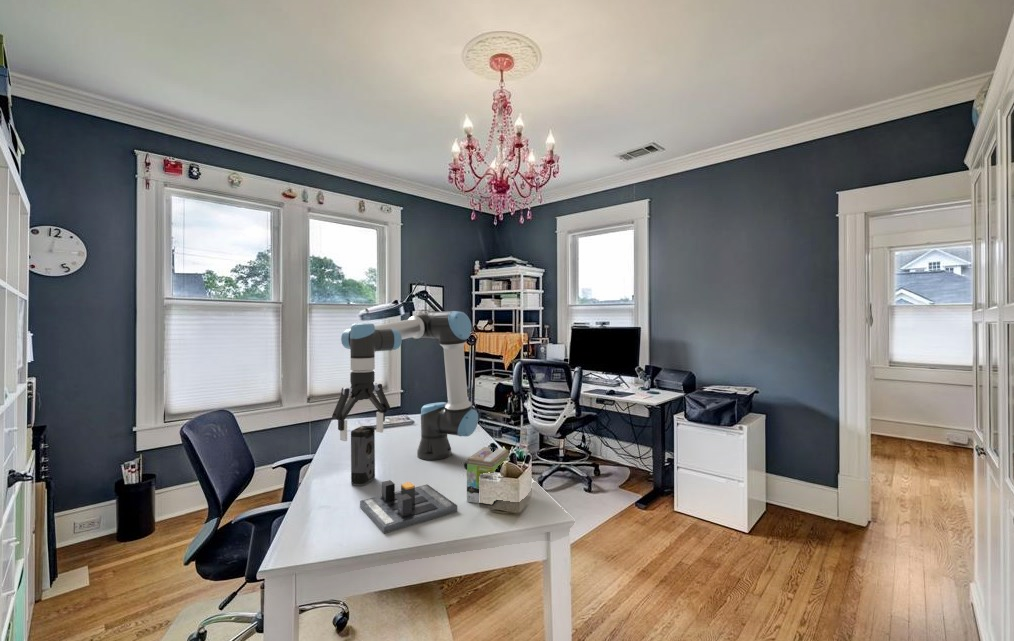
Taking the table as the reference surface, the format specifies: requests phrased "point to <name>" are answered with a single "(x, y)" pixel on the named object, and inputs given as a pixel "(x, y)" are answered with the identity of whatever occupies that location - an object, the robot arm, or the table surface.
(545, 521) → the table surface
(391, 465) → the table surface
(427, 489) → the panel
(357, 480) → the electronic device
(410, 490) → the block
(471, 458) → the tea box
